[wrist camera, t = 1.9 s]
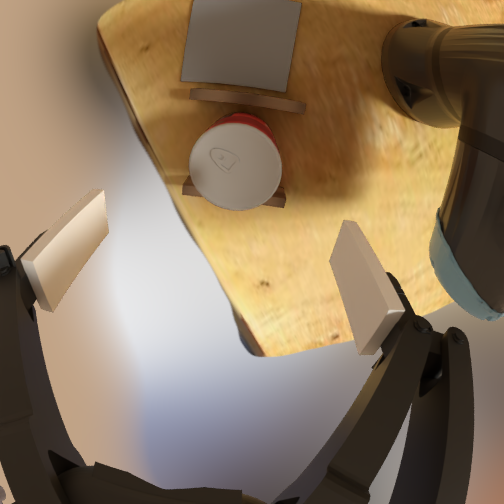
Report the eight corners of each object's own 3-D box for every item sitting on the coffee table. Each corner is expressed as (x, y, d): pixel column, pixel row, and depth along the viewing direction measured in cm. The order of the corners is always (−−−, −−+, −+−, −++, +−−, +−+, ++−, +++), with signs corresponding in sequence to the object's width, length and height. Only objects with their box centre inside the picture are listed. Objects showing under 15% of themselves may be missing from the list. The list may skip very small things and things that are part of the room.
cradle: (300, 102, 28) (306, 103, 25) (281, 196, 35) (283, 208, 32) (197, 88, 27) (190, 88, 24) (188, 184, 34) (182, 194, 31)
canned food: (222, 102, 28) (205, 110, 19) (285, 127, 30) (299, 148, 21) (199, 158, 32) (176, 192, 23) (259, 182, 34) (260, 224, 25)
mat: (301, 3, 21) (301, 3, 20) (285, 92, 27) (285, 92, 27) (196, -7, 20) (195, -8, 19) (181, 81, 26) (180, 81, 26)
